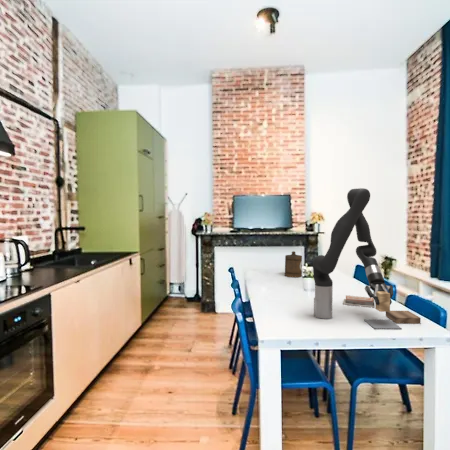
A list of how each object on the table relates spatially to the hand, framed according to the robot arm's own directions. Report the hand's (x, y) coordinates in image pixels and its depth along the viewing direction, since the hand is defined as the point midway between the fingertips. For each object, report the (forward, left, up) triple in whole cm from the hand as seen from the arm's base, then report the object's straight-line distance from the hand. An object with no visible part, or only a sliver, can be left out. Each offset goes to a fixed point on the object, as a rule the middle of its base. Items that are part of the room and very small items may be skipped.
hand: (384, 304), depth 164 cm
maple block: (0, +2, -4) cm, 4 cm away
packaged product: (+2, +39, -12) cm, 41 cm away
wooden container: (-23, +129, -11) cm, 131 cm away
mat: (0, +2, -11) cm, 11 cm away
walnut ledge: (+14, +10, -11) cm, 20 cm away
